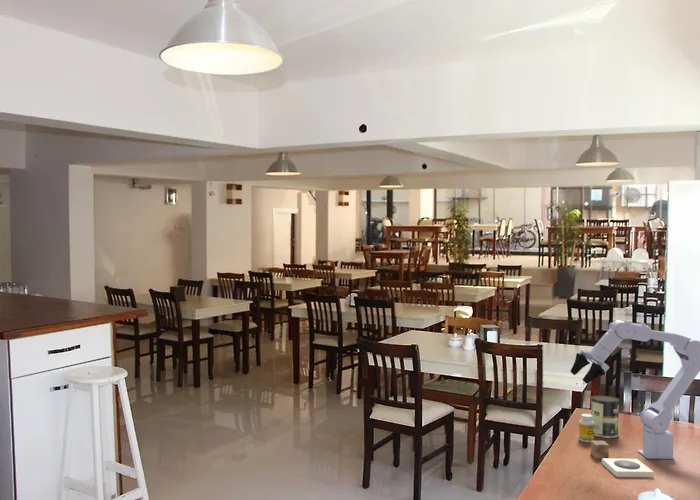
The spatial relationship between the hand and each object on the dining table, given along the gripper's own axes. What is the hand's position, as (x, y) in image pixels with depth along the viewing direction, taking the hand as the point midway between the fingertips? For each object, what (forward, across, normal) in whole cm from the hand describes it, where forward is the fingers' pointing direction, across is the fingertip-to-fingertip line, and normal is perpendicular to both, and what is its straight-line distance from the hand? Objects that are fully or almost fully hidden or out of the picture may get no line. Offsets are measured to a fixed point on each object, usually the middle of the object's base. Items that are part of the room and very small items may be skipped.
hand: (578, 377), depth 229 cm
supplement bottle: (+15, -9, +29) cm, 34 cm away
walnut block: (+16, +8, +22) cm, 29 cm away
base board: (+14, +22, +21) cm, 33 cm away
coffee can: (+8, -14, +39) cm, 42 cm away
